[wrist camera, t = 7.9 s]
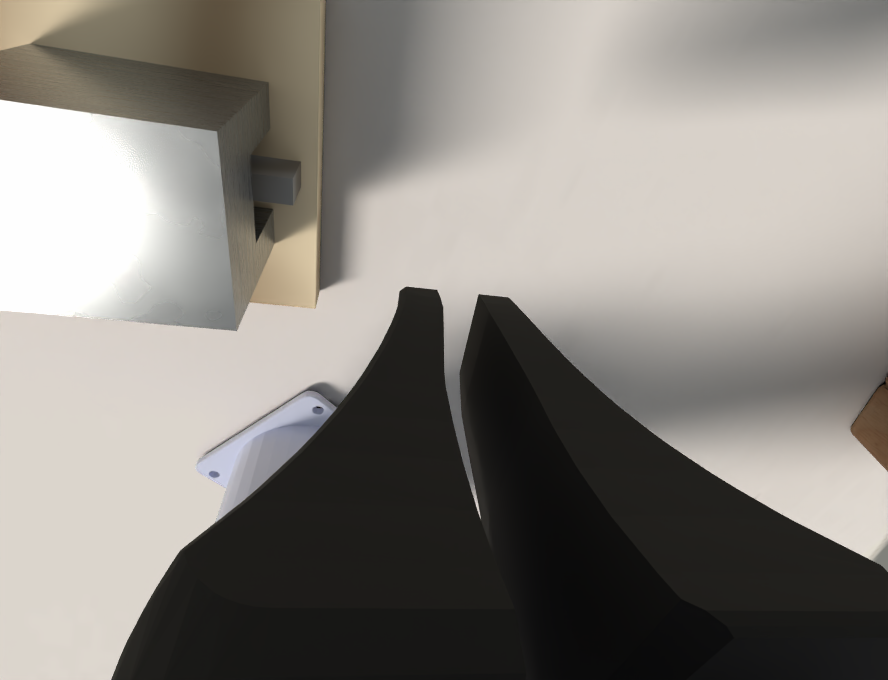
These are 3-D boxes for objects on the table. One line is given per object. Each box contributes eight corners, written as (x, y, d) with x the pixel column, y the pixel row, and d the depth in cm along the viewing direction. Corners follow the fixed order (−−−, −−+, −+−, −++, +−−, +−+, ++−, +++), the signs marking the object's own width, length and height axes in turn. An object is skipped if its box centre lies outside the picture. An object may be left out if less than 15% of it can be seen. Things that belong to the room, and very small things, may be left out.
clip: (268, 82, 14) (217, 131, 10) (274, 243, 17) (236, 330, 13) (30, 43, 13) (-131, 81, 9) (80, 221, 16) (-24, 308, 12)
